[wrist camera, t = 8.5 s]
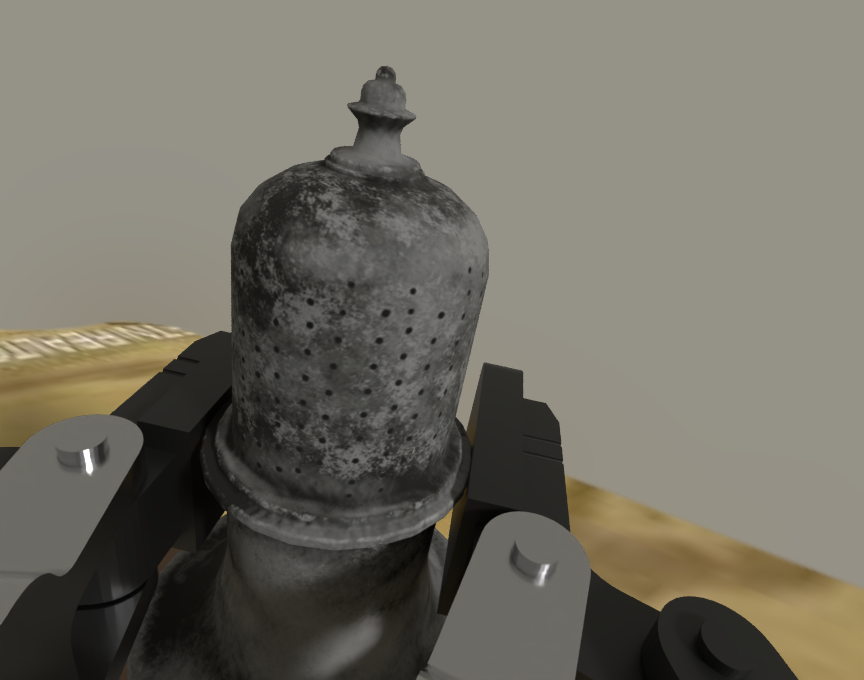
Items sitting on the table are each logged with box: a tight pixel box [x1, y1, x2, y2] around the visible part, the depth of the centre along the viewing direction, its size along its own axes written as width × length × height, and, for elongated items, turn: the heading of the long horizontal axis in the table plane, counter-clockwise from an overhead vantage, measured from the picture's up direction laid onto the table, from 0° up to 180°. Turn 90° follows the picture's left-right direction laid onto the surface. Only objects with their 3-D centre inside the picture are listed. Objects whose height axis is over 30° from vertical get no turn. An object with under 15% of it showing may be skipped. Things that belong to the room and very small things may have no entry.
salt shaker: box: [127, 66, 489, 680], centre depth 8 cm, size 6×6×12 cm
